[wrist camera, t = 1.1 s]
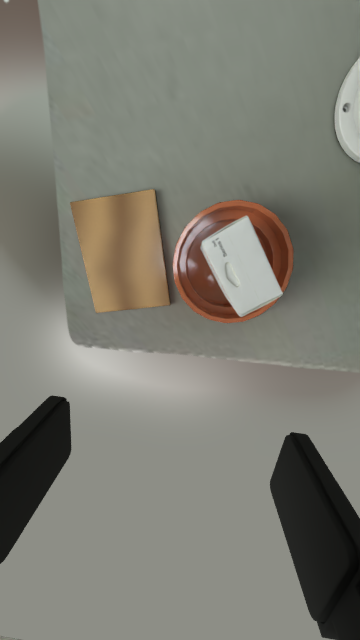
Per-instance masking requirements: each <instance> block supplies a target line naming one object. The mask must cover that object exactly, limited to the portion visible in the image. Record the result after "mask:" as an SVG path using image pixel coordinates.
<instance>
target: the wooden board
mask: <svg viewBox="0 0 360 640" xmlns="http://www.w3.org/2000/svg"><path fill="white" fill-rule="evenodd" d="M70 205H71V209H72V213H73V217H74V222H75V226H76V230H77V234H78V238H79V243H80V247H81V251H82V255H83V260H84V264H85V268H86V272H87V276H88V281H89V285H90V289H91V293H92V297H93V302H94V306H95V310H96V313H100V312H109V311H119V310H128V309H138V308H147V307H157V306H166V305H170V296H169V289H168V281H167V274H166V267H165V259H164V252H163V245H162V237H161V230H160V222H159V215H158V208H157V200H156V193H155V190H154V189H152V190H145V191H139V192H133V193H126V194H120V195H114V196H107V197H101V198H95V199H88V200H82V201H76V202H70Z"/></svg>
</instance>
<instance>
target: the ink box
mask: <svg viewBox="0 0 360 640" xmlns="http://www.w3.org/2000/svg"><path fill="white" fill-rule="evenodd" d="M200 249H201V251H202V253H203V255H204V257H205V259H206V261H207V263H208V265H209V267H210V269H211V271H212V273H213V274H214V276H215V278H216V280H217V282H218V284H219V286H220V288H221V290H222V292H223V293H224V295H225V297H226V298H227V300H228V301H229V303H230V304H231V305H232V307H233V308H234V310H235V311H236V313H237V314H238V315H239V316H240V317H243V316H245V315H247V314H249V313H251V312H253V311H255V310H257V309H259V308H261V307H263V306H265V305H267V304H268V303H270V302H272V301H274V300H275V299H277V298H279V297H280V296H282V295H283V292H282V291H281V288H280V286H279V284H278V282H277V279H276V277H275V275H274V273H273V270H272V268H271V266H270V264H269V261H268V259H267V257H266V255H265V252H264V250H263V248H262V246H261V243H260V241H259V239H258V237H257V234H256V232H255V230H254V228H253V225H252V223H251V221H250V219H249V217H248V216H244V217H242V218H240V219H238V220H236V221H234V222H232V223H231V224H229V225H227V226H225V227H224V228H222V229H220V230H219V231H217V232H216V233H214V234H212V235H211V236H209V237H208V238H206V239H205V240H203V241H202V244H201V247H200Z"/></svg>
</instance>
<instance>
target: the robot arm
mask: <svg viewBox="0 0 360 640" xmlns="http://www.w3.org/2000/svg"><path fill="white" fill-rule="evenodd" d="M334 118H335V130H336V134H337V138H338V140H339V143H340V145H341V147H342V148H343V150H344V151H345V152H346V153H347V155H348V156H350V157H351V158H352V159H354V160H355V161H357V162H359V163H360V57H359V59H358V60H357V61H356V62H355V64H354V65H353V66H352V67H351V69H350V71H349V72H348V74H347V76H346V77H345V79H344V81H343V84H342V86H341V88H340V91H339V94H338V98H337V102H336V107H335V116H334ZM70 452H71V431H70V404H69V402H67V401H66V398H64V397H58V396H50V397H49V398H47V399H46V401H44V402H43V403H42V404H41V405H40V406H39V407H38V408H37V409H36V410H35V411H34V412H33V413H32V414H31V415H30V416H29V417H28V418H27V419H26V420H25V421H24V422H23V423H22V424H21V425H20V426H19V427H17V428H16V429H14V430H13V431H12V432H11V433H10V434H9V435H8V436H7V437H6V438H5V439H4V440H3V441H2V442H1V443H0V564H1V563H2V562H3V561H4V560H5V558H6V557H7V555H8V554H9V552H10V551H11V549H12V548H13V546H14V544H15V543H16V541H17V539H18V538H19V536H20V535H21V533H22V532H23V530H24V528H25V527H26V525H27V523H28V522H29V520H30V519H31V517H32V515H33V514H34V512H35V511H36V509H37V508H38V506H39V504H40V503H41V501H42V499H43V498H44V496H45V495H46V493H47V491H48V490H49V488H50V487H51V485H52V483H53V482H54V480H55V478H56V477H57V475H58V474H59V472H60V471H61V469H62V467H63V466H64V464H65V463H66V461H67V459H68V458H69V455H70ZM270 489H271V493H272V496H273V499H274V503H275V506H276V508H277V512H278V515H279V518H280V521H281V524H282V528H283V531H284V534H285V537H286V540H287V544H288V546H289V550H290V553H291V556H292V559H293V563H294V566H295V569H296V572H297V575H298V578H299V581H300V585H301V588H302V591H303V594H304V597H305V600H306V604H307V607H308V610H309V612H310V615H311V617H312V618H313V619H314V620H315V621H317V623H318V626H319V629H320V633H321V635H322V637H323V638H329V639H335V640H360V518H359V517H358V515H357V513H356V512H355V510H354V509H353V507H352V505H351V504H350V502H349V500H348V499H347V497H346V496H345V494H344V492H343V491H342V489H341V488H340V486H339V484H338V483H337V481H336V480H335V478H334V477H333V475H332V473H331V472H330V470H329V469H328V467H327V465H326V464H325V462H324V461H323V459H322V457H321V456H320V454H319V453H318V451H317V449H316V448H315V446H314V444H313V443H312V441H311V440H310V438H309V437H308V435H306V434H300V433H294V432H291V433H290V435H287V436H286V437H285V440H284V443H283V445H282V448H281V451H280V454H279V457H278V460H277V463H276V466H275V469H274V472H273V475H272V478H271V481H270ZM0 640H19V639H14V638H9V637H3V636H0Z"/></svg>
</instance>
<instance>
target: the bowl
mask: <svg viewBox="0 0 360 640" xmlns="http://www.w3.org/2000/svg"><path fill="white" fill-rule="evenodd" d="M244 216H248V217H249V219H250V221H251V223H252V225H253V228H254V230H255V232H256V234H257V237H258V239H259V241H260V243H261V246H262V248H263V250H264V252H265V255H266V257H267V259H268V261H269V264H270V266H271V268H272V270H273V273H274V275H275V277H276V279H277V282H278V284H279V286H280V288H281V291H282V292H284V290H285V289H286V287H287V285H288V282H289V279H290V276H291V273H292V270H293V246H292V243H291V240H290V237H289V233H288V231H287V229H286V228H285V226H284V225H283V224H282V222H281V221H280V220H279V218H278V217H277V216H276V215H275V214H274V213H273V212H271V211H269V210H268V209H266V208H265V207H263V206H261V205H260V204H257V203H252V202H247V201H243V200H234V201H227V202H220V203H217V204H215V205H213V206H211V207H209V208H207V209H205V210H203V211H201V212H200V213H199V214H198V215H197V216H196V217H195V218H194V219H193V220H192V221H191V222H190V223H189V224H188V225H187V226H186V227H185V228H184V230H183V232H182V234H181V236H180V238H179V240H178V242H177V244H176V247H175V253H174V259H173V272H174V280H175V284H176V286H177V288H178V290H179V292H180V295H181V297H182V298H183V300H184V301H185V302H186V303H187V304H188V305H189V306H190V307H191V308H192V310H193V311H195V312H196V313H198V314H200V315H202V316H203V317H205V318H207V319H209V320H213V321H218V322H223V323H233V322H243V321H246V320H249V319H251V318H253V317H256V316H258V315H260V314H262V313H263V312H265V311H266V310H267V309H268V308H270V307H271V306H272V305H273V304H275V303H276V301H277V300H278V299H279V298H277V299H275V300H274V301H272V302H270V303H268V304H267V305H265V306H263V307H261V308H259V309H257V310H255V311H253V312H251V313H249V314H247V315H245V316H243V317H240V316H239V315H238V314H237V313H236V311H235V310H234V308H233V307H232V305H231V304H230V303H229V301H228V300H227V298H226V297H225V295H224V293H223V292H222V290H221V288H220V286H219V284H218V282H217V280H216V278H215V276H214V274H213V273H212V271H211V269H210V267H209V265H208V263H207V261H206V259H205V257H204V255H203V253H202V251H201V249H200V247H201V244H202V241H203V240H205V239H206V238H208V237H209V236H211V235H212V234H214V233H216V232H217V231H219V230H220V229H222V228H224V227H225V226H227V225H229V224H231V223H232V222H234V221H236V220H238V219H240V218H242V217H244Z"/></svg>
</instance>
